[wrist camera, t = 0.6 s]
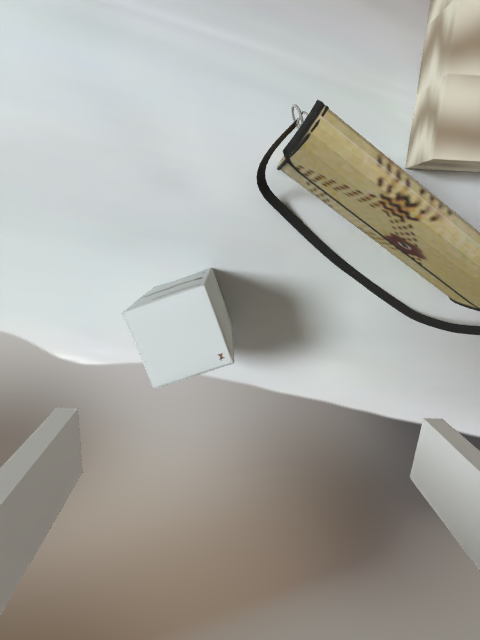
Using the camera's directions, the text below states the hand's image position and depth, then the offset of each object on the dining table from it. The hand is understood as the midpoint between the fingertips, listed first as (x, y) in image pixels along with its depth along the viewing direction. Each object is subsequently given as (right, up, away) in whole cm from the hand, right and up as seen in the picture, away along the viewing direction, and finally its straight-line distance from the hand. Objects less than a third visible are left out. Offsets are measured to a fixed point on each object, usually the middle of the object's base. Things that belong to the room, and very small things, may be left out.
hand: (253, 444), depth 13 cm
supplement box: (-6, +7, +27) cm, 28 cm away
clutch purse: (+14, +13, +26) cm, 32 cm away
